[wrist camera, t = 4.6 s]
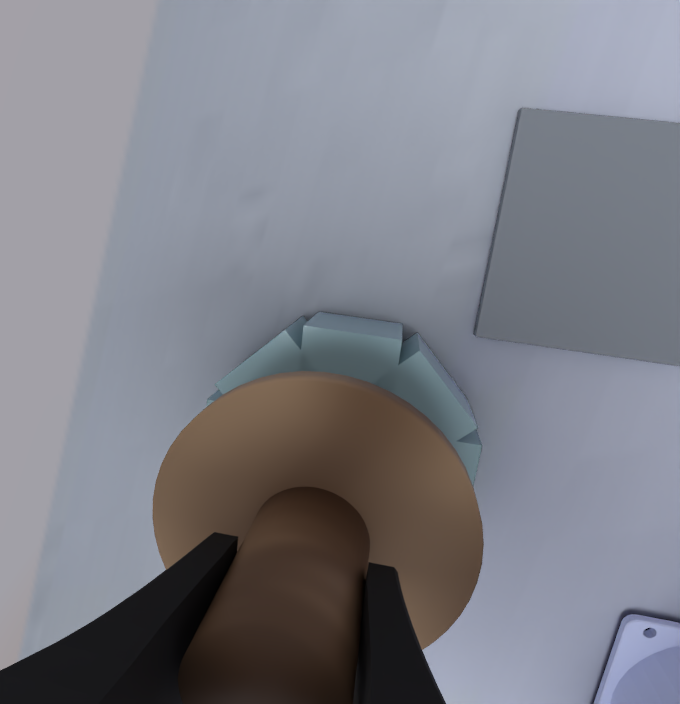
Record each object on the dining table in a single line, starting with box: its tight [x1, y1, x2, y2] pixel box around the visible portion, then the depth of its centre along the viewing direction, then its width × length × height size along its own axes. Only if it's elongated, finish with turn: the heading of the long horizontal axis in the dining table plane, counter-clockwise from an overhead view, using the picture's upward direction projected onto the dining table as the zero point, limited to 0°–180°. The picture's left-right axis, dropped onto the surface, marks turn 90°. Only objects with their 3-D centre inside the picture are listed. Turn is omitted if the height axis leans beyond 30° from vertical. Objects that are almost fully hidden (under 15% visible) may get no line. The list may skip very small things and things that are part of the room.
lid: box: [153, 371, 484, 704], centre depth 11 cm, size 9×9×5 cm
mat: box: [474, 108, 680, 366], centre depth 17 cm, size 8×8×1 cm
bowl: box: [207, 312, 482, 485], centre depth 19 cm, size 10×10×3 cm
